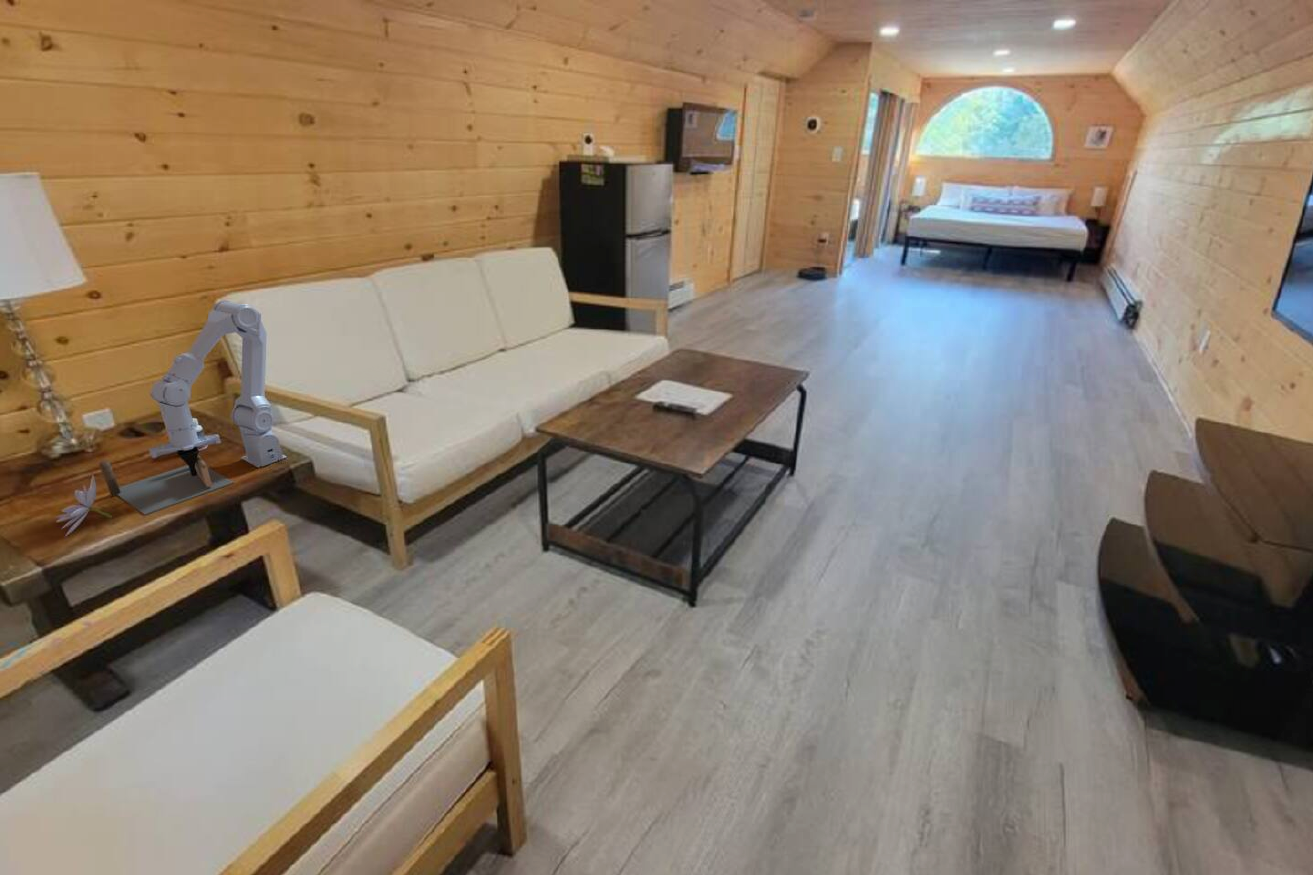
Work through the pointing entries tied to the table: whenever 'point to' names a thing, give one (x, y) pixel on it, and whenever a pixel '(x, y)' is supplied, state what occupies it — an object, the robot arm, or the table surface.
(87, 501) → the water lily
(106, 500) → the table surface
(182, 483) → the mat
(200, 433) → the pill bottle
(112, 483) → the brown wooden posts
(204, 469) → the brown rimmed panel
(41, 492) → the table surface
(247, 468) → the table surface
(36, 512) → the table surface
